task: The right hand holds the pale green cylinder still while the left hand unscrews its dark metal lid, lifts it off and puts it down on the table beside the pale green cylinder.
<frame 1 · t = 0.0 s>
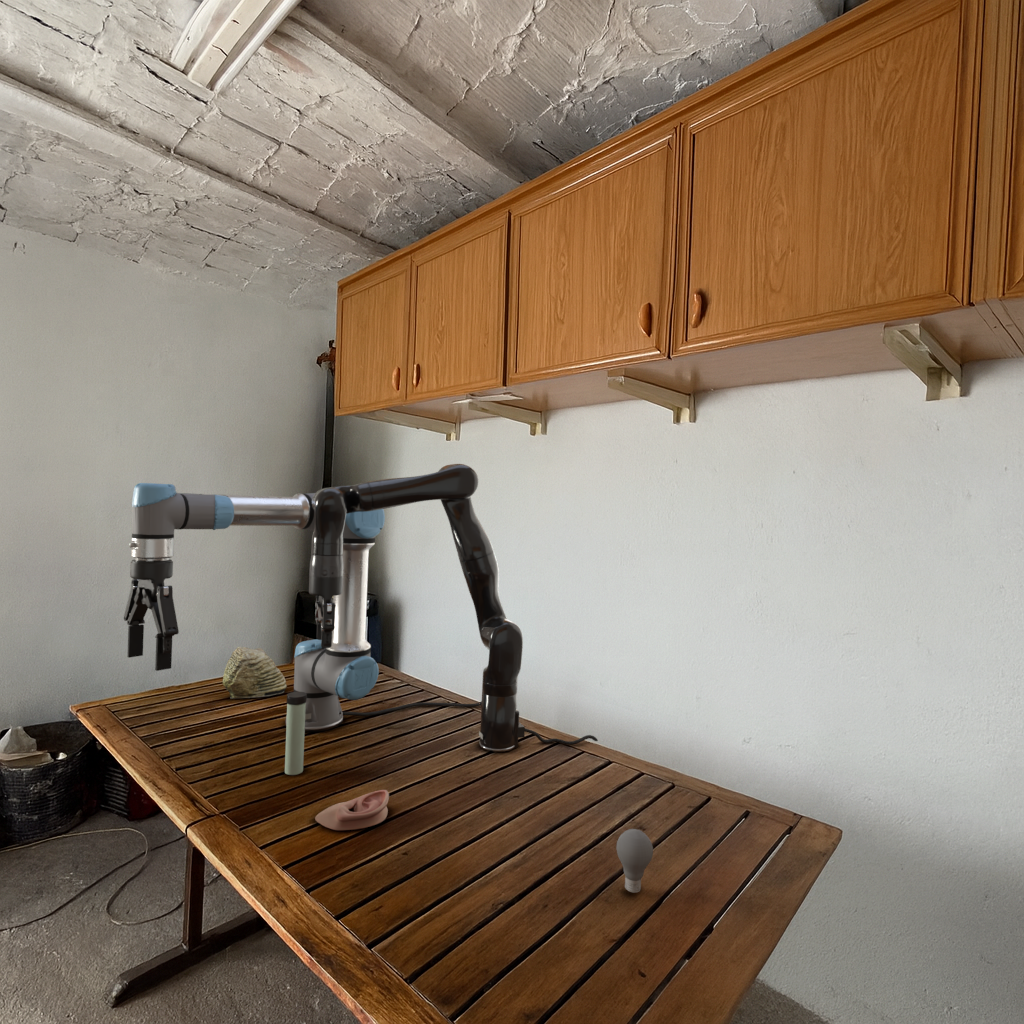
left hand: (148, 662, 129), 28 cm above the table, tool pointing down, fingers open, 13 cm apart
right hand: (323, 643, 147), 29 cm above the table, tool pointing down, fingers open, 8 cm apart
light bulb: (632, 891, 106), on the table
lid: (296, 695, 145), point 17 cm above the table, screwed on, not yet turned
anatomical model: (352, 817, 126), on the table
fossil: (254, 694, 198), on the table
pale green cylinder: (293, 771, 145), on the table
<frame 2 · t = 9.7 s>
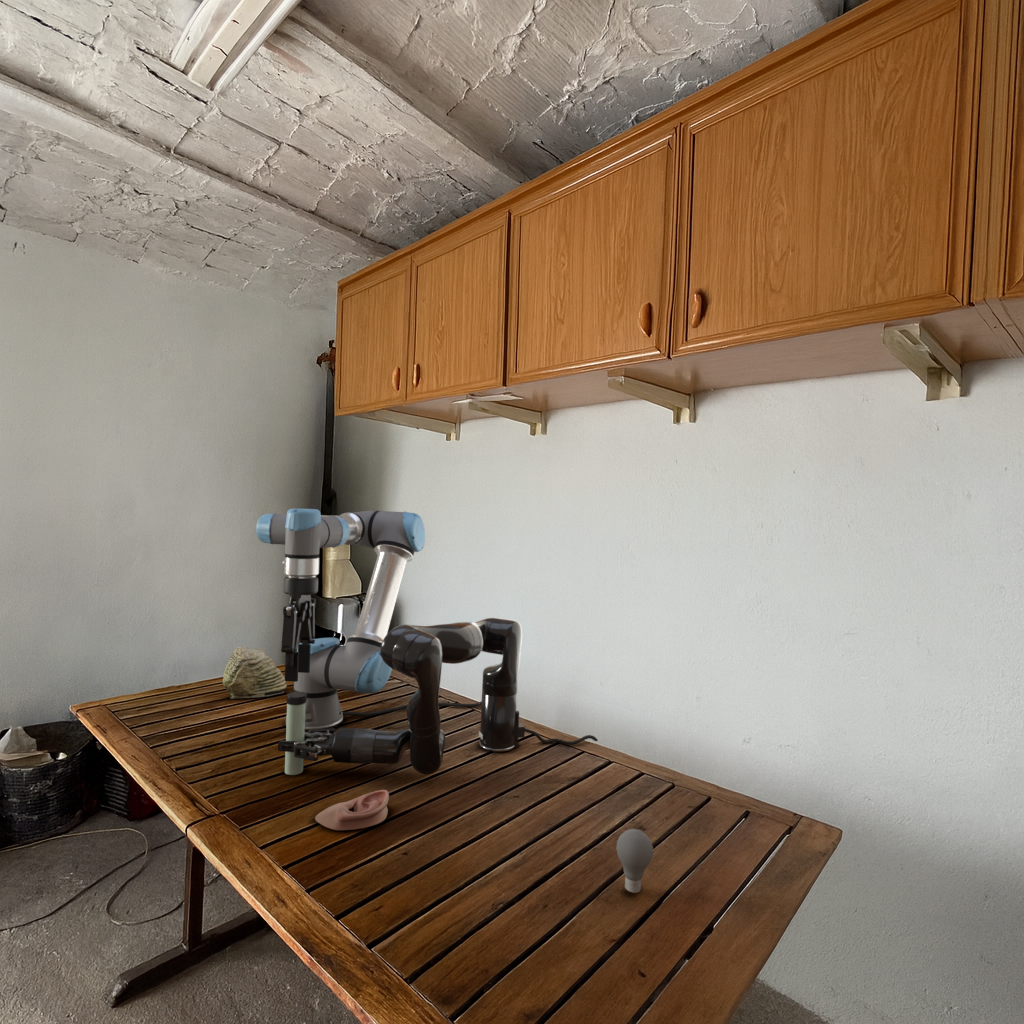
left hand: (297, 676, 145), 22 cm above the table, tool pointing down, fingers open, 6 cm apart
right hand: (283, 741, 145), 7 cm above the table, tool horizontal, fingers closed on pale green cylinder, 4 cm apart
pale green cylinder: (293, 771, 145), on the table, touching right hand
everything else where it was.
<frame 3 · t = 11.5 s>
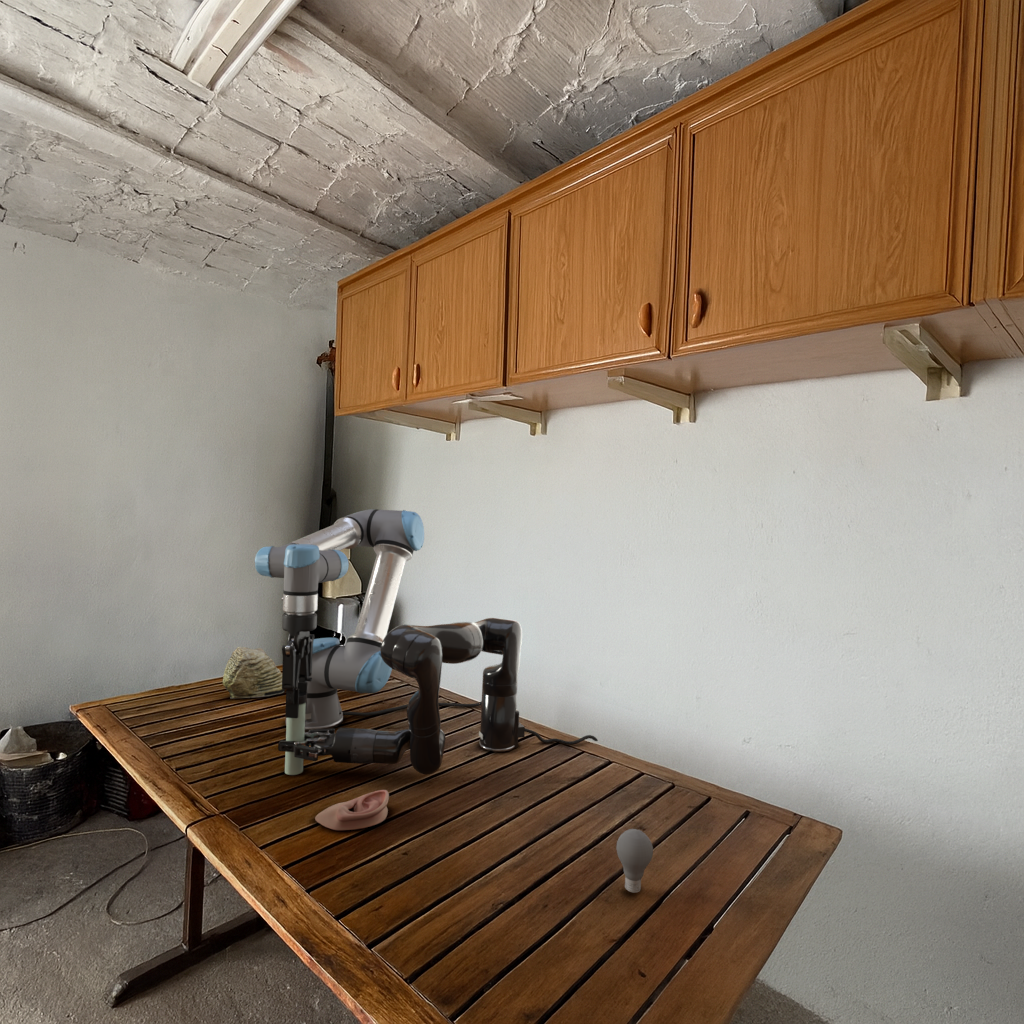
left hand: (296, 713, 145), 13 cm above the table, tool pointing down, fingers closed on lid, 4 cm apart
right hand: (283, 741, 145), 7 cm above the table, tool horizontal, fingers closed on pale green cylinder, 4 cm apart
lid: (296, 695, 145), point 17 cm above the table, screwed on, not yet turned, touching left hand
pale green cylinder: (293, 771, 145), on the table, touching right hand
everything else where it was.
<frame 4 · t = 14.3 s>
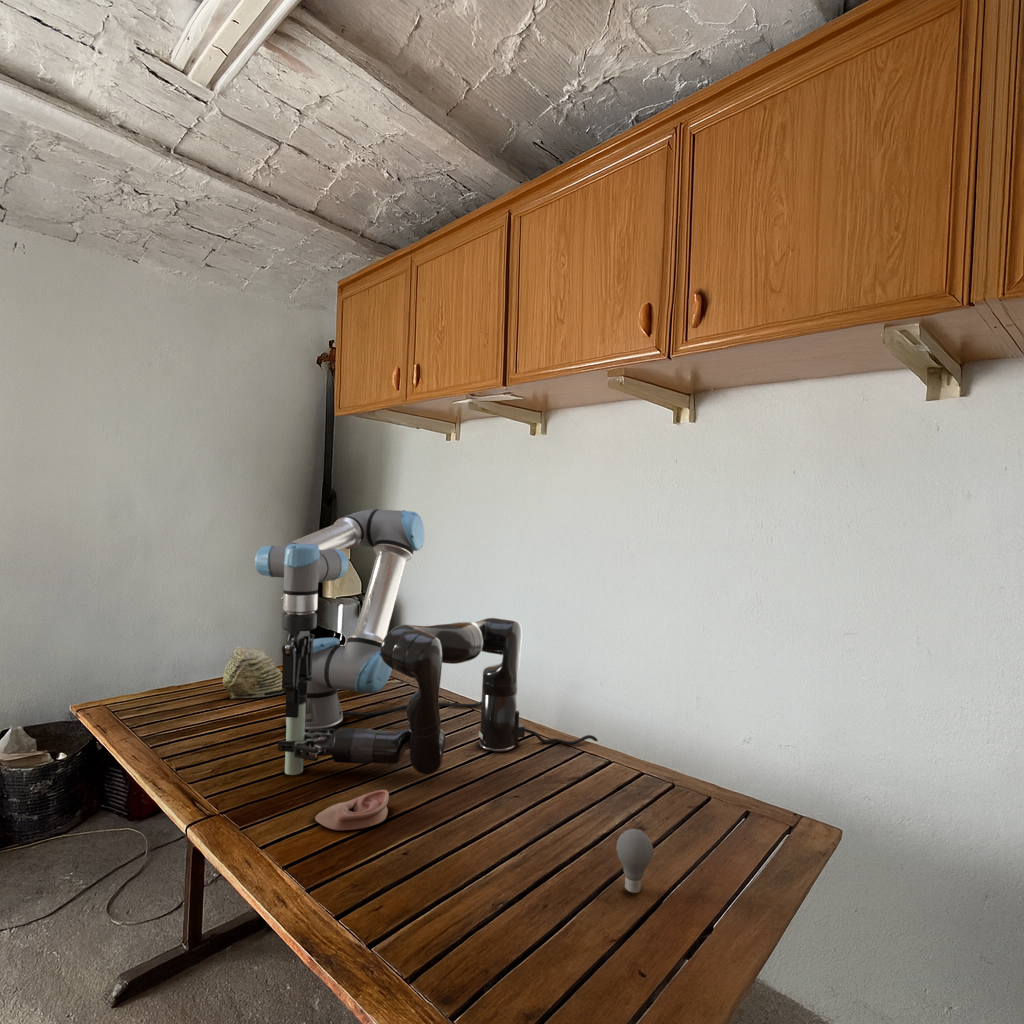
left hand: (296, 712, 145), 14 cm above the table, tool pointing down, fingers closed on lid, 4 cm apart
right hand: (283, 741, 145), 7 cm above the table, tool horizontal, fingers closed on pale green cylinder, 4 cm apart
lid: (296, 695, 145), point 18 cm above the table, turned 81° so far, risen 0.1 cm, still on its thread, touching left hand
pale green cylinder: (293, 771, 145), on the table, touching right hand
everything else where it was.
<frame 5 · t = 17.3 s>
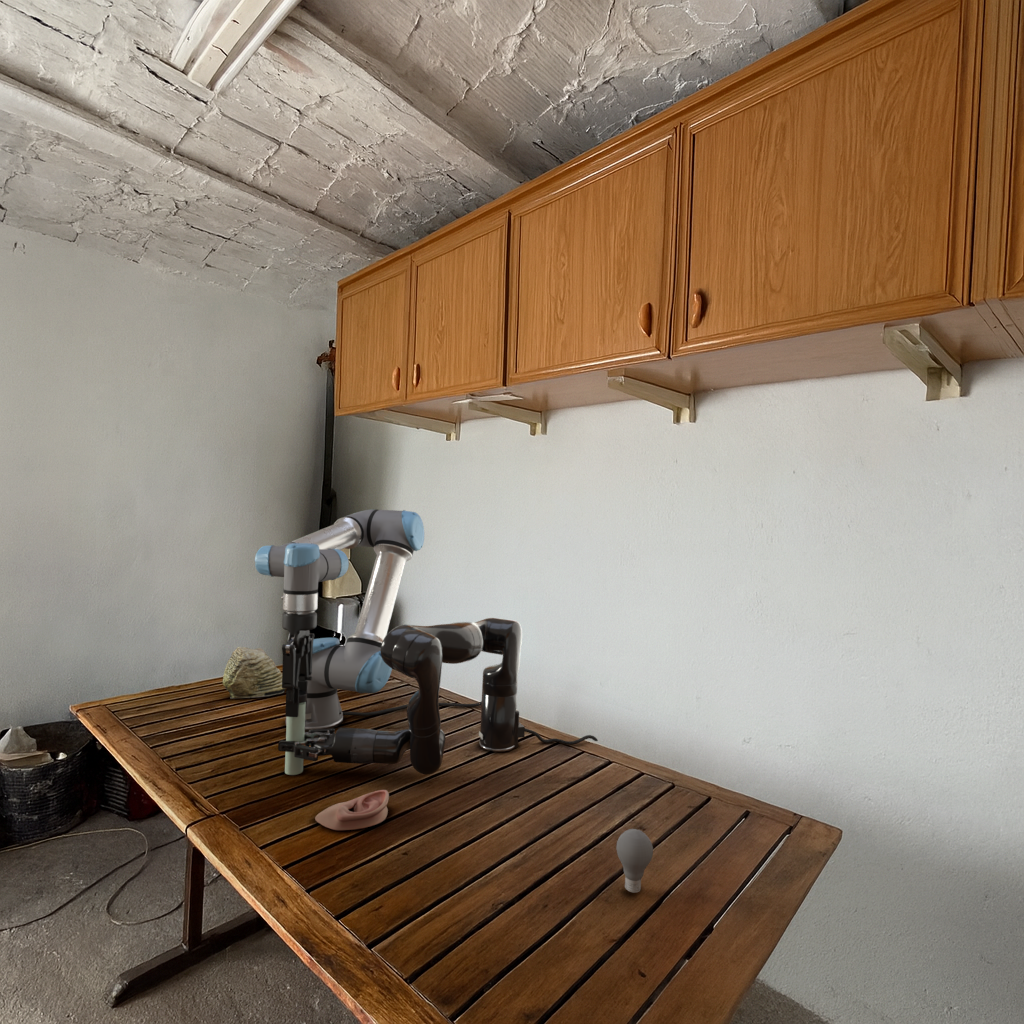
left hand: (296, 712, 145), 14 cm above the table, tool pointing down, fingers closed on lid, 4 cm apart
right hand: (283, 741, 145), 7 cm above the table, tool horizontal, fingers closed on pale green cylinder, 4 cm apart
lid: (296, 694, 145), point 18 cm above the table, turned 161° so far, risen 0.2 cm, still on its thread, touching left hand
pale green cylinder: (293, 771, 145), on the table, touching right hand
everything else where it was.
when the left hand's fingers open (0 cm above the table, at t = 32.7 s): lid drops 3 cm, point 1 cm above the table.
when the right hand's fingers open (7 cm above the table, at t = 33.3 s): pale green cylinder stays where it is, on the table.
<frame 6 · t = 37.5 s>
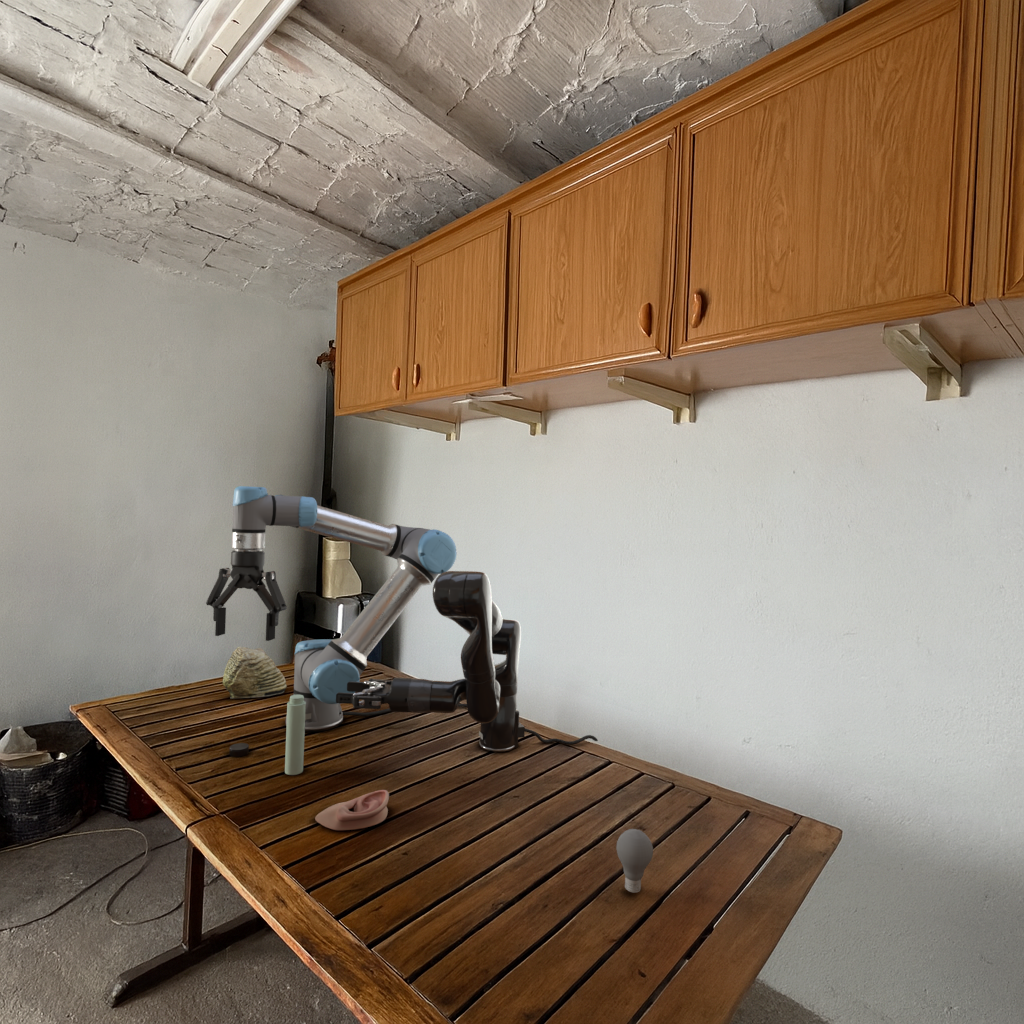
left hand: (245, 637, 154), 28 cm above the table, tool pointing down, fingers open, 13 cm apart
right hand: (342, 691, 145), 19 cm above the table, tool horizontal, fingers open, 8 cm apart
lid: (239, 747, 154), point 1 cm above the table, off its thread
pale green cylinder: (293, 771, 145), on the table
everything else where it was.
at the end: lid came off its thread; lid point 1.3 cm above the table; the left hand is holding nothing; the right hand is holding nothing; pale green cylinder tilted 0°; pale green cylinder moved 0.0 cm from its start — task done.
